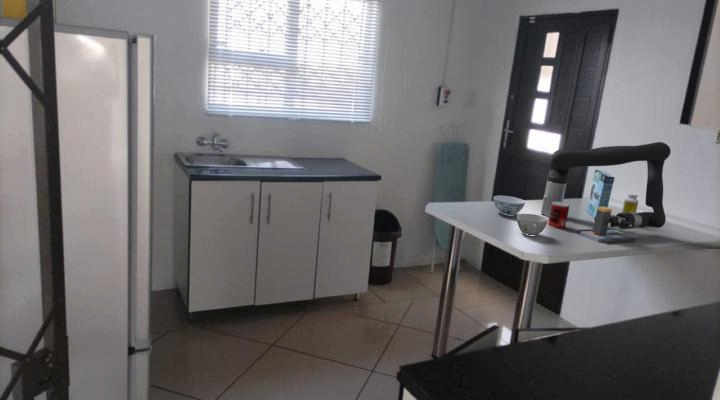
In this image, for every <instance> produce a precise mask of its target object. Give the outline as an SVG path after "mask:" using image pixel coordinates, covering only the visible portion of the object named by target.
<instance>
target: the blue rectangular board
mask: <svg viewBox="0 0 720 400" xmlns="http://www.w3.org/2000/svg"><path fill="white" fill-rule="evenodd" d="M579 236H582V237H584V236H585V237H584V238H587V239H589V238H590V239H589V240H592V241H593V242H594V241H595V242H596V241H597V243H602V242H603V243H604V240H607V239H625V238H634V236H633V235H630V234H627V233H625V232H621V231H619V230H617V229H609V230H607V233H606V235H598V234H596V233H593V231H580V233H579Z"/></svg>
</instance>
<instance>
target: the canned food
mask: <svg viewBox="0 0 720 400" xmlns="http://www.w3.org/2000/svg"><path fill="white" fill-rule="evenodd" d="M569 210H570V203H569V204H568V202H567V203H566V202H564V201H563V202H552V206H551V211H550V216H548V217H549V218H548V221H547V224H548V226H549V225H550V226H549V227H551V226H553V227H552V228H554V227H556V228H555V229H560V228H562V229H565V228H566V224H567V220H568V216H569Z"/></svg>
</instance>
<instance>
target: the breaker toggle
mask: <svg viewBox="0 0 720 400" xmlns="http://www.w3.org/2000/svg"><path fill="white" fill-rule="evenodd" d="M612 212H613V209H612V208H609V207H608V208H607V207H597V213H596V218H595V221H594V224H593V227H592V229H593V233H596V234H598V235H606V233H607V229H609V225H610V223H609V220H610V216H612V215H611V214H612Z"/></svg>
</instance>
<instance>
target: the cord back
mask: <svg viewBox="0 0 720 400" xmlns="http://www.w3.org/2000/svg"><path fill="white" fill-rule="evenodd" d="M607 230H610V229H609V228H608V229H607ZM580 231H593V228H588V229H585V228H584V229H583V228H582V229H578V232H579V233H578V234H580Z"/></svg>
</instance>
